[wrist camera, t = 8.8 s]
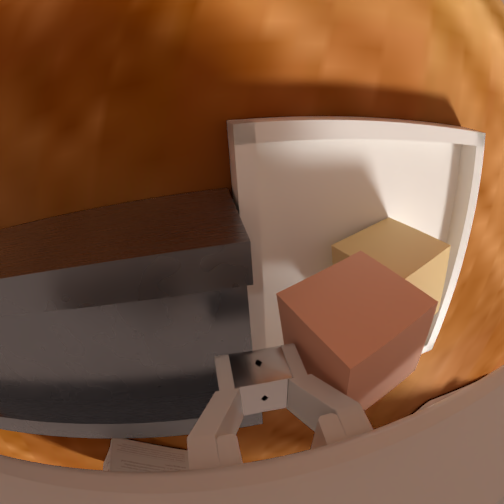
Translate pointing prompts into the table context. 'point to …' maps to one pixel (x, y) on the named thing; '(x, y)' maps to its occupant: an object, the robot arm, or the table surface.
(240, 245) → the slot block
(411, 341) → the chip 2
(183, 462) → the supplement box
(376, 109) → the table surface
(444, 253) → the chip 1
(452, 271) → the tray
